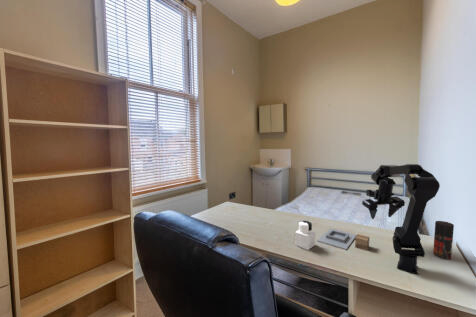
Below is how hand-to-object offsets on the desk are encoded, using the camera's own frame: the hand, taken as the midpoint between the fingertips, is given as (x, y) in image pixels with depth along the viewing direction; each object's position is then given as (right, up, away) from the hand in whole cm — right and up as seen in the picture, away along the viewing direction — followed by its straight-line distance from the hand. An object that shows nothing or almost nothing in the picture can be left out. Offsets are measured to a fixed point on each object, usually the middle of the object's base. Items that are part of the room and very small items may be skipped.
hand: (380, 217), depth 111 cm
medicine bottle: (-39, -13, -2) cm, 42 cm away
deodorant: (+18, -13, -14) cm, 27 cm away
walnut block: (-12, -13, -5) cm, 18 cm away
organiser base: (-20, -12, +5) cm, 24 cm away
